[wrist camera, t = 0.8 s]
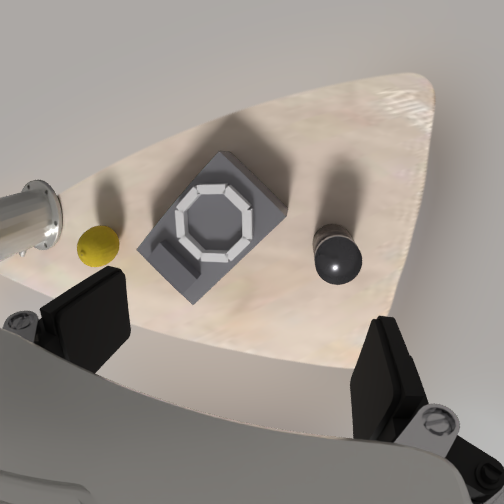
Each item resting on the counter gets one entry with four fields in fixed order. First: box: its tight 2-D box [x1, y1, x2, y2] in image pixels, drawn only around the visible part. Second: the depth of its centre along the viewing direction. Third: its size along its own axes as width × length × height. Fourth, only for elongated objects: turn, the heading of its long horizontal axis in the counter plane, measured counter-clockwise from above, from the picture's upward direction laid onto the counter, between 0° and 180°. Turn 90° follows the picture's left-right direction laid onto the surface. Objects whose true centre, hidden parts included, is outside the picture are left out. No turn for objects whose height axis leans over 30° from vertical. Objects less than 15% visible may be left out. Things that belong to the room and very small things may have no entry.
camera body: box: [137, 151, 288, 305], centre depth 35 cm, size 16×10×6 cm, turn 136°
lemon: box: [77, 226, 119, 267], centre depth 38 cm, size 6×6×8 cm
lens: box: [313, 224, 362, 285], centre depth 33 cm, size 5×5×7 cm
